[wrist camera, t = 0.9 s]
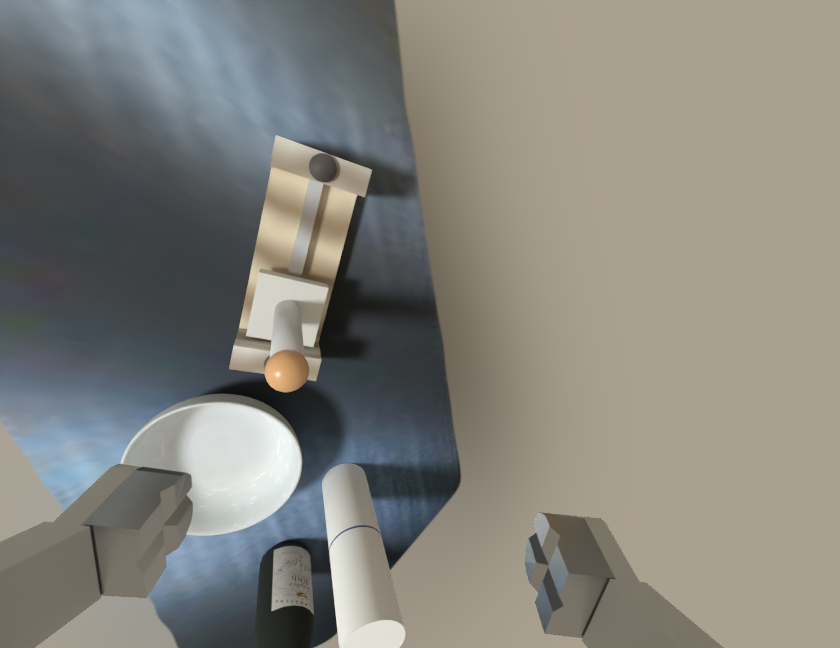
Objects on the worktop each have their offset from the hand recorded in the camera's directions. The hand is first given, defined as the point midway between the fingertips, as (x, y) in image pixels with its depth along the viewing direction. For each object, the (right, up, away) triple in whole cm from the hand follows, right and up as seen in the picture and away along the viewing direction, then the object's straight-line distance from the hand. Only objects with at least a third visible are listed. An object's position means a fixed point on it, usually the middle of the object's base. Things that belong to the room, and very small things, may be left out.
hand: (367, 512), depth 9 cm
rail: (-14, +13, +41) cm, 45 cm away
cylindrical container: (-11, -21, +55) cm, 61 cm away
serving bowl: (-27, -12, +47) cm, 55 cm away
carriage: (-15, +7, +40) cm, 43 cm away
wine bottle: (-22, -35, +57) cm, 70 cm away
